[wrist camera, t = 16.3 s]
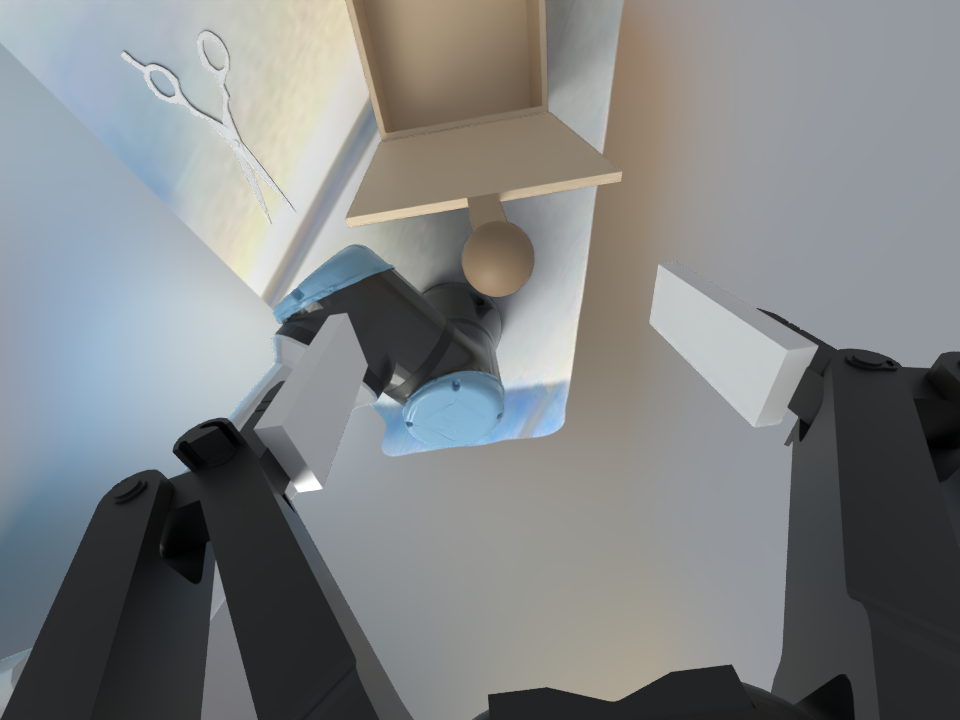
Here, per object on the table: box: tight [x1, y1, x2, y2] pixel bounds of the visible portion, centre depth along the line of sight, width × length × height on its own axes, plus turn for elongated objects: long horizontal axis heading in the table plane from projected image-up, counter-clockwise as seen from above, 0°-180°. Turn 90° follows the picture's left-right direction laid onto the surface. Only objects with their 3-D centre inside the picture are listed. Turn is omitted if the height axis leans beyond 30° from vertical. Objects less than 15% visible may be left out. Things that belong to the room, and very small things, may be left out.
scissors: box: [122, 31, 296, 224], centre depth 42 cm, size 11×1×20 cm
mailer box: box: [345, 0, 548, 141], centre depth 34 cm, size 20×18×7 cm
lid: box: [345, 112, 622, 297], centre depth 26 cm, size 30×18×4 cm
